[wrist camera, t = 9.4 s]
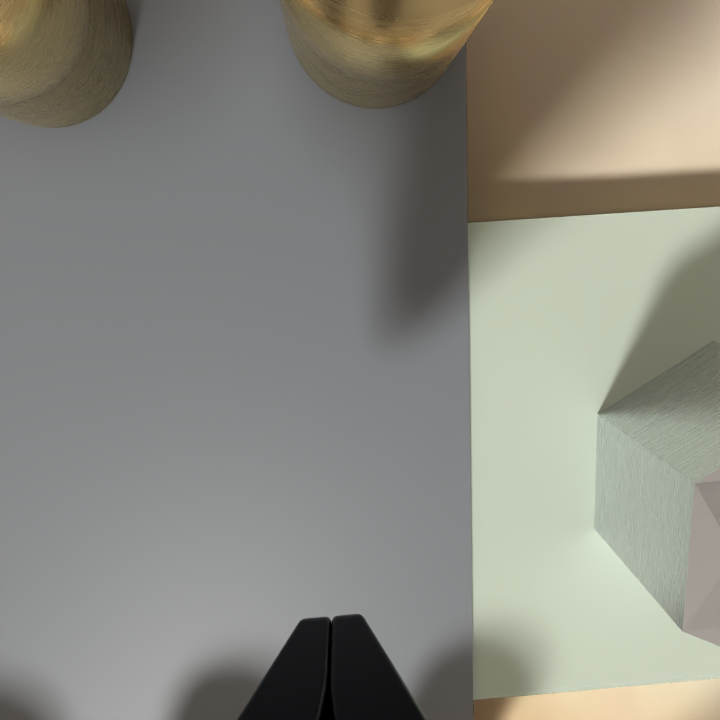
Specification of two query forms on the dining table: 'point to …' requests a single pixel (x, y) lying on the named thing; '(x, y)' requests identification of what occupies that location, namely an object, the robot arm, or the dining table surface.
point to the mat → (572, 439)
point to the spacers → (305, 30)
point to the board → (231, 379)
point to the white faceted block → (667, 489)
